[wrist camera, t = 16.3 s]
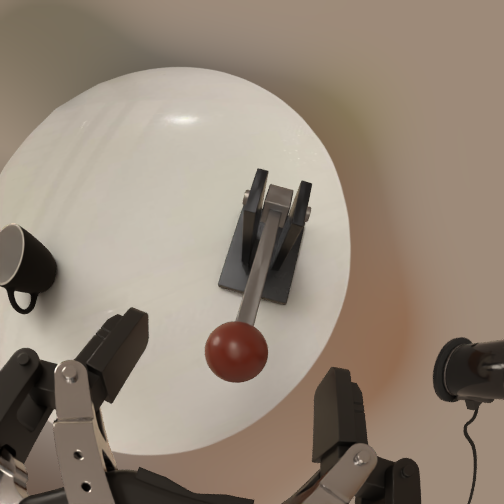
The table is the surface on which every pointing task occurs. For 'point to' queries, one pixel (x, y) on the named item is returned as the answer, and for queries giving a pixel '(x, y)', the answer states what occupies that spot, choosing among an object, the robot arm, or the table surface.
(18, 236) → the mug
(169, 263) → the table surface
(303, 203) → the bracket
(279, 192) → the lever
